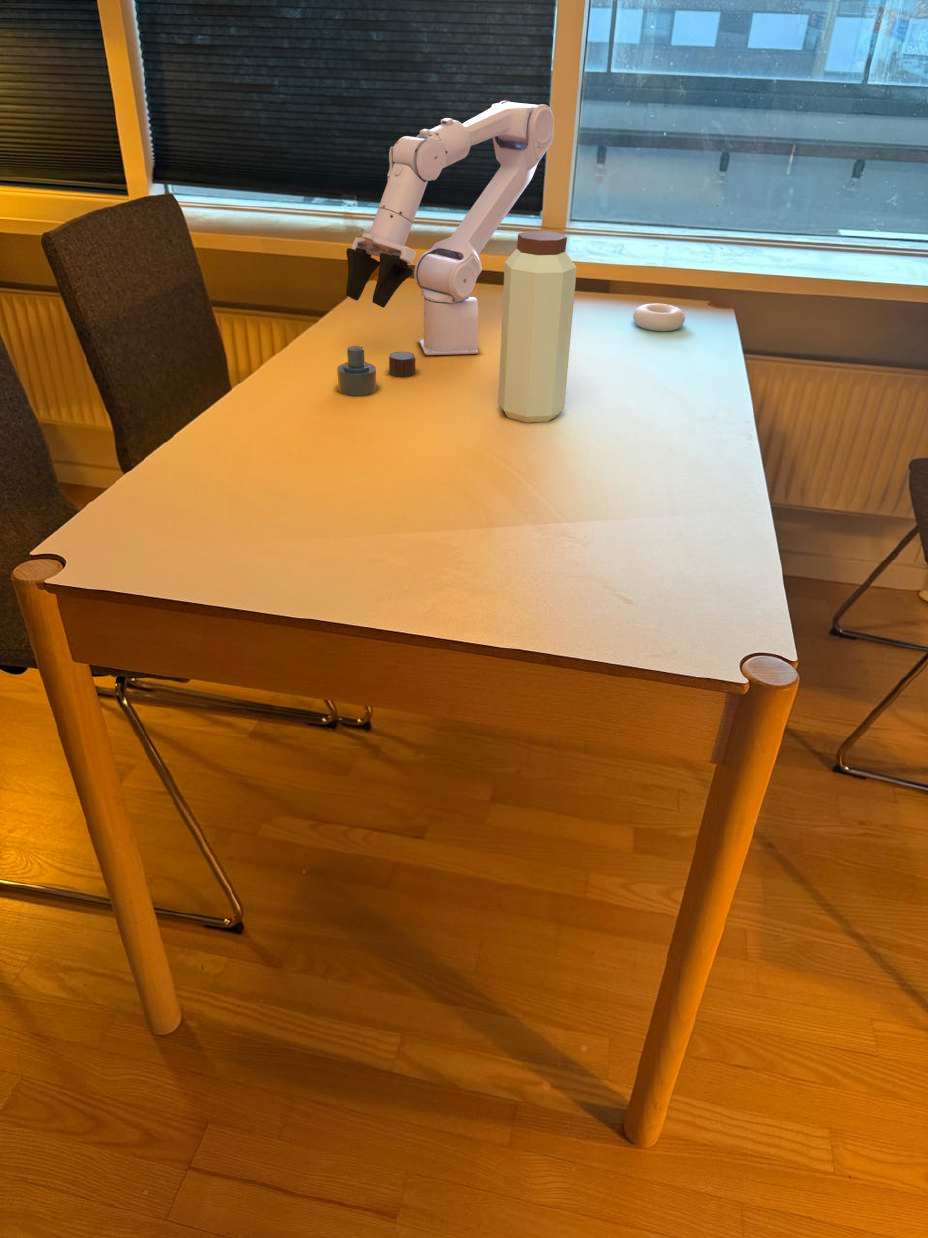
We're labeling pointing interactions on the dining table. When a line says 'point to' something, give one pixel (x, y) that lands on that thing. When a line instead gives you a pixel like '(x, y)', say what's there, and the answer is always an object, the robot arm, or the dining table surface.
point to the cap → (402, 364)
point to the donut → (659, 317)
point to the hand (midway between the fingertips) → (364, 301)
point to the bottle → (356, 374)
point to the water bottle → (536, 327)
